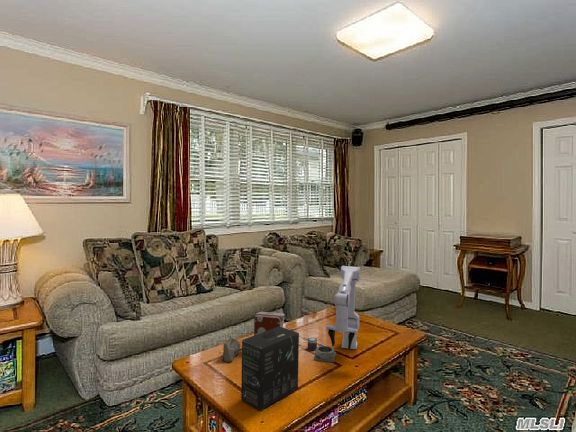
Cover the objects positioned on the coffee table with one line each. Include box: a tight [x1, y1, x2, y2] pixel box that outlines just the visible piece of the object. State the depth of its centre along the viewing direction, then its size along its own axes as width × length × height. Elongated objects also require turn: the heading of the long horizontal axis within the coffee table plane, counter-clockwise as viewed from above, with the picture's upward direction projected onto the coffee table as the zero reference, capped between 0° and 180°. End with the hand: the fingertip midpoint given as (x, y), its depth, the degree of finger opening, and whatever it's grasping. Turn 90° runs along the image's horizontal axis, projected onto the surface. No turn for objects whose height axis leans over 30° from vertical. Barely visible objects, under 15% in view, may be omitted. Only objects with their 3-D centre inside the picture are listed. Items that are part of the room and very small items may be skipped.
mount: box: [313, 344, 337, 363], centre depth 176 cm, size 10×10×4 cm
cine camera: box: [253, 311, 288, 336], centre depth 181 cm, size 9×19×20 cm, turn 78°
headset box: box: [240, 326, 300, 411], centre depth 142 cm, size 22×12×26 cm, turn 139°
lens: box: [306, 337, 318, 352], centre depth 186 cm, size 5×5×5 cm
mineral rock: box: [221, 337, 241, 363], centre depth 175 cm, size 13×11×10 cm
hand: (341, 346), depth 165 cm, fingers open, 7 cm apart
